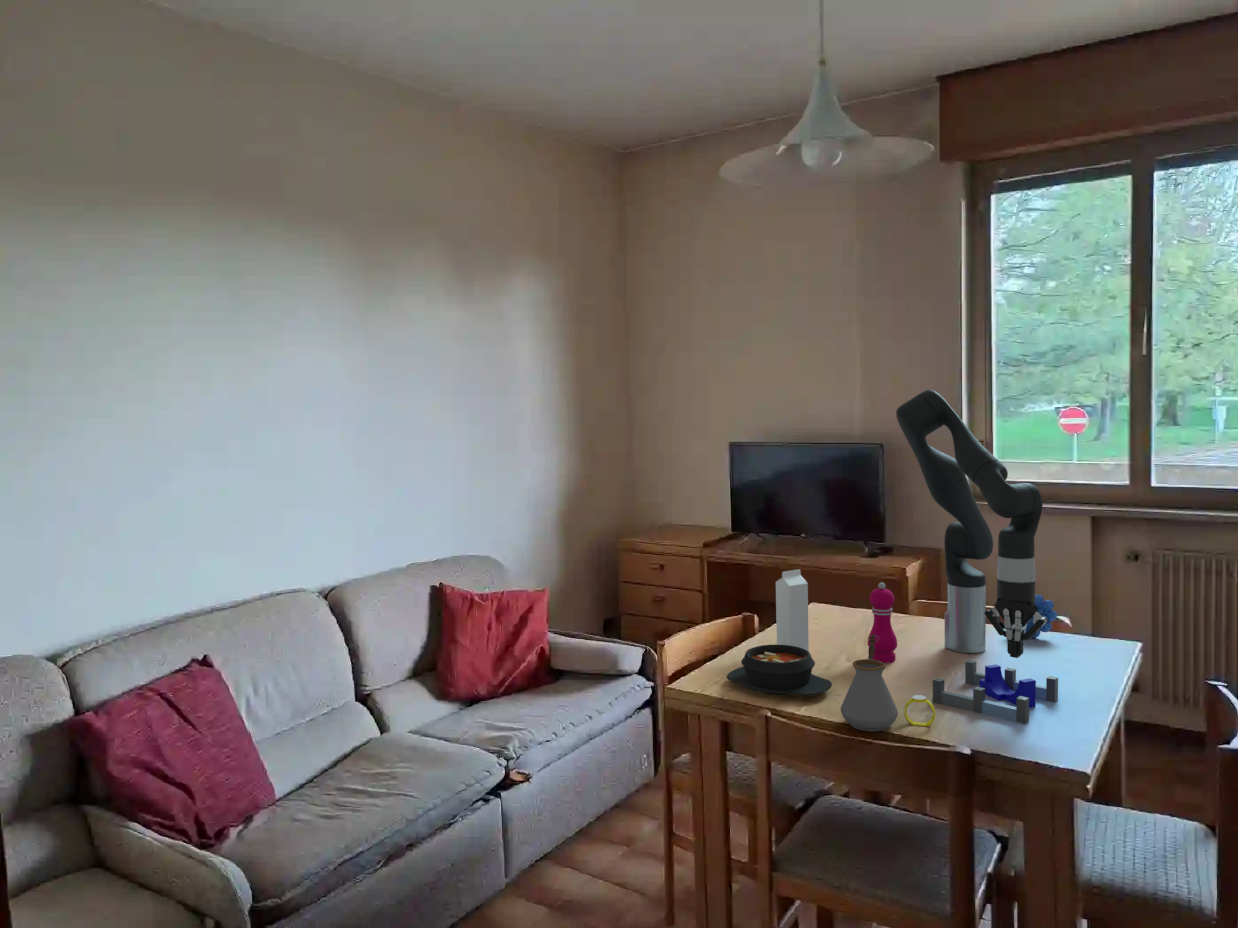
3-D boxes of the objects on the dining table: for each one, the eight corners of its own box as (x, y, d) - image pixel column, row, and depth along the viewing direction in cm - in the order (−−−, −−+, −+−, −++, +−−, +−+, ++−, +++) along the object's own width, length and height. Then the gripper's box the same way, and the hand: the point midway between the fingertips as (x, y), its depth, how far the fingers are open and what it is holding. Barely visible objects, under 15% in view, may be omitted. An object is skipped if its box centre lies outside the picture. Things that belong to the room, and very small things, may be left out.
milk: (776, 651, 234) (774, 569, 233) (795, 647, 237) (793, 567, 235) (790, 657, 229) (788, 573, 227) (809, 653, 232) (807, 570, 230)
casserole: (844, 685, 206) (844, 650, 206) (811, 710, 191) (810, 672, 191) (749, 668, 221) (749, 635, 221) (711, 690, 206) (710, 655, 206)
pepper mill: (863, 656, 228) (862, 580, 226) (890, 654, 228) (890, 578, 227) (874, 664, 221) (873, 586, 219) (902, 663, 221) (901, 584, 219)
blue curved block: (979, 692, 199) (979, 666, 199) (995, 690, 201) (996, 664, 200) (1018, 710, 188) (1018, 683, 187) (1035, 707, 189) (1035, 680, 189)
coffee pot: (897, 737, 175) (896, 663, 174) (837, 731, 179) (836, 659, 178) (900, 700, 195) (900, 634, 194) (847, 696, 199) (846, 631, 198)
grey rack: (932, 701, 194) (932, 679, 194) (968, 680, 207) (968, 659, 206) (1025, 723, 180) (1025, 700, 179) (1057, 699, 193) (1058, 677, 192)
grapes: (1055, 635, 241) (1055, 591, 240) (1057, 642, 234) (1058, 597, 233) (1008, 632, 245) (1008, 589, 244) (1009, 638, 238) (1010, 595, 237)
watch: (905, 727, 181) (902, 699, 181) (905, 722, 184) (903, 694, 183) (936, 728, 179) (933, 699, 179) (935, 723, 182) (933, 694, 181)
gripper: (977, 576, 190) (977, 654, 191) (1041, 584, 180) (1040, 667, 182) (992, 570, 195) (991, 647, 197) (1055, 578, 186) (1054, 658, 187)
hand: (1015, 656), depth 189 cm, fingers closed
